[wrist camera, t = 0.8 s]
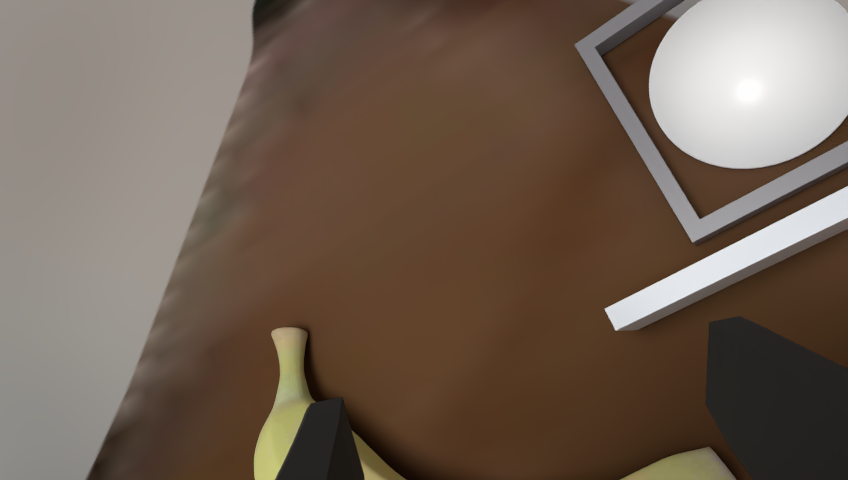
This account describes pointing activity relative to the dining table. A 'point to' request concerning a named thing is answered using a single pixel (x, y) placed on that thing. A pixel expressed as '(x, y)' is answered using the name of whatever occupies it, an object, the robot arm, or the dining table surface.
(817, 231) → the acrylic wall
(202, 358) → the dining table surface
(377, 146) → the dining table surface
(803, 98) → the grey square frame
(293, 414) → the banana
